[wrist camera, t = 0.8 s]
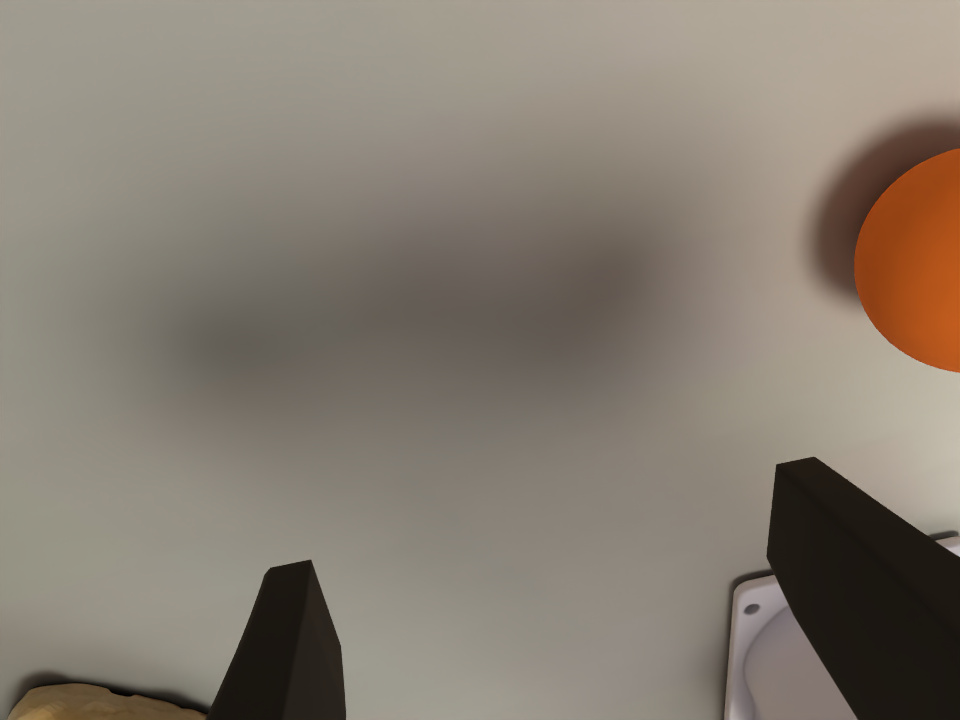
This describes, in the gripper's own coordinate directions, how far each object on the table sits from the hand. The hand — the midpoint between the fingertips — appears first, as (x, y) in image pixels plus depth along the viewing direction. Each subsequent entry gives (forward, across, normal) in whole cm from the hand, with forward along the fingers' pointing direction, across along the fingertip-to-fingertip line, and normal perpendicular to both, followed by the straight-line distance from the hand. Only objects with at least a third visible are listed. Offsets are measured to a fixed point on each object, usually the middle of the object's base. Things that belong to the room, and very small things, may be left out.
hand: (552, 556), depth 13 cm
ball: (+6, -11, 0) cm, 12 cm away
